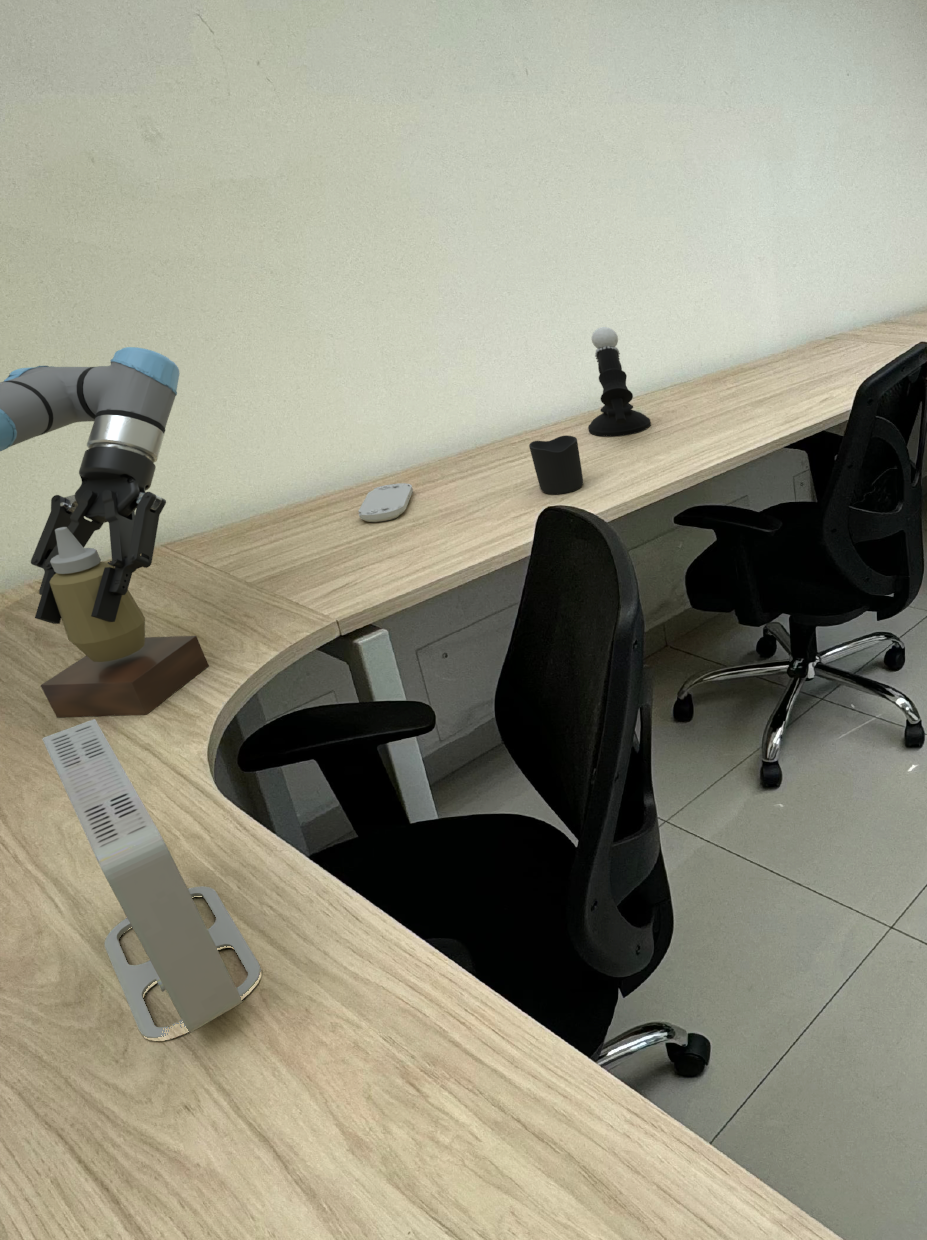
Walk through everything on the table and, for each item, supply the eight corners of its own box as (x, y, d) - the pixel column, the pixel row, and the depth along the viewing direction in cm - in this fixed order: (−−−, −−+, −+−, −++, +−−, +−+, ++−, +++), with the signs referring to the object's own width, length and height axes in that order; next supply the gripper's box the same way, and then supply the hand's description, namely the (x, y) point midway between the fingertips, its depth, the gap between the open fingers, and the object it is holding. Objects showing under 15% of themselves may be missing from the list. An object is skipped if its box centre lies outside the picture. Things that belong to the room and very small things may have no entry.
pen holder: (572, 496, 187) (563, 449, 182) (530, 495, 188) (520, 449, 184) (593, 480, 195) (584, 435, 191) (552, 479, 197) (543, 435, 192)
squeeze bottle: (163, 631, 126) (111, 512, 119) (144, 659, 120) (87, 534, 112) (93, 644, 124) (35, 523, 116) (69, 673, 117) (6, 546, 109)
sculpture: (647, 416, 239) (632, 319, 228) (658, 441, 219) (642, 336, 208) (587, 423, 235) (569, 325, 224) (592, 450, 214) (573, 343, 204)
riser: (56, 717, 119) (40, 685, 117) (126, 668, 130) (112, 638, 128) (146, 714, 119) (131, 682, 117) (209, 665, 130) (196, 635, 128)
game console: (400, 508, 177) (354, 514, 175) (404, 519, 178) (357, 526, 176) (413, 479, 193) (370, 484, 191) (416, 489, 194) (373, 495, 192)
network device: (284, 1006, 77) (199, 822, 69) (160, 1080, 71) (51, 889, 63) (200, 866, 93) (122, 702, 84) (93, 917, 87) (-2, 747, 78)
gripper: (212, 465, 127) (173, 625, 119) (75, 470, 127) (27, 630, 119) (171, 441, 120) (126, 608, 112) (25, 446, 120) (-29, 614, 112)
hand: (75, 619), depth 116 cm, fingers closed on squeeze bottle, 6 cm apart
